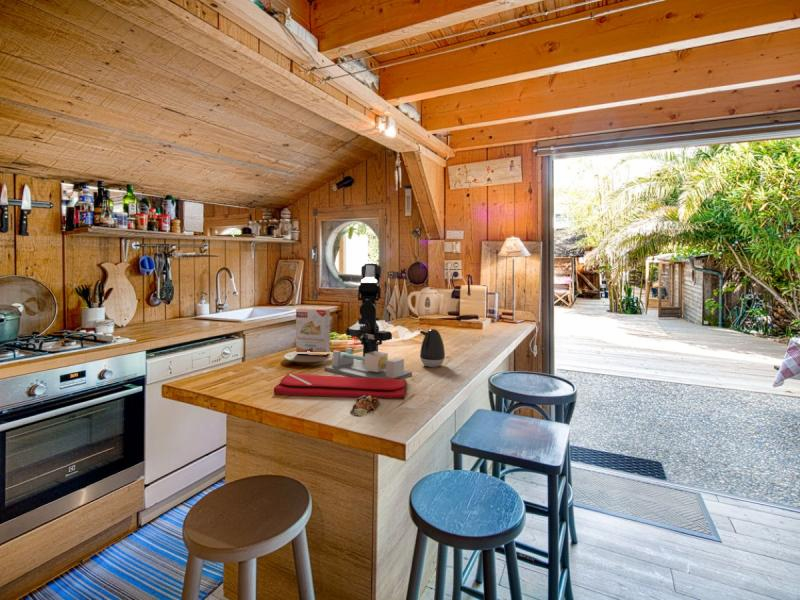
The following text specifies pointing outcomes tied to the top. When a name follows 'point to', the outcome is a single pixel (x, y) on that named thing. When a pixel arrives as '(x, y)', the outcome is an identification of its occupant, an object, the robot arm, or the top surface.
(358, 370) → the board
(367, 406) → the pastry
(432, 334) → the pump dispenser
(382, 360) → the pale teal rod
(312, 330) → the cracker box
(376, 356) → the sleeve
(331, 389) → the dish drying mat
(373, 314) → the robot arm
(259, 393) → the top surface
